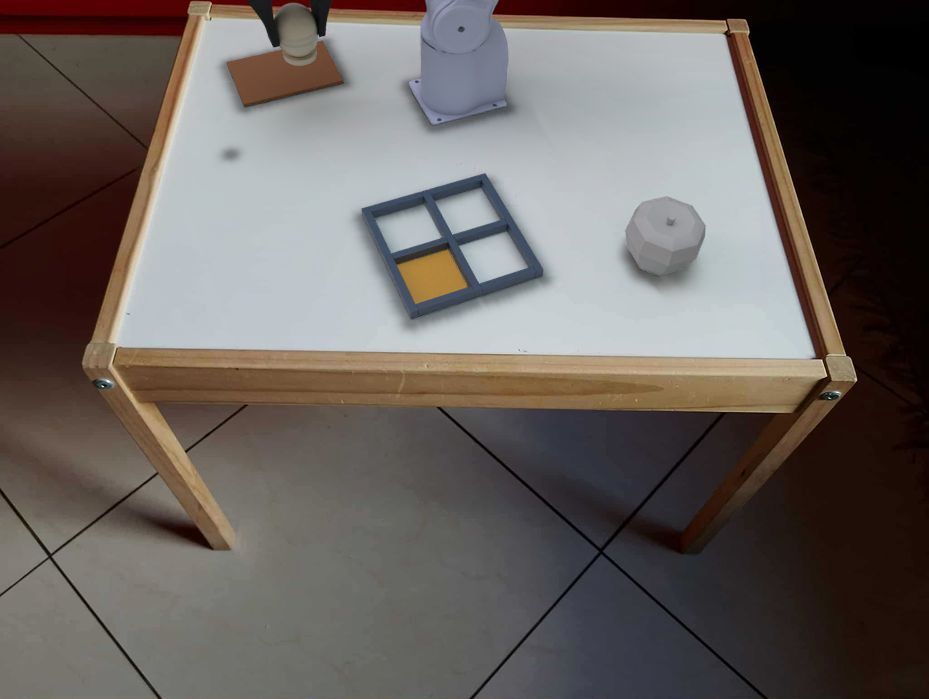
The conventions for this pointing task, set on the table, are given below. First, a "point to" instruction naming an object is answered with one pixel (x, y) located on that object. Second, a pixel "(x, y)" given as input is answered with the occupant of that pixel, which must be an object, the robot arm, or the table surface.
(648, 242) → the apple
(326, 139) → the table surface
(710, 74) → the table surface
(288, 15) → the beige domed knob
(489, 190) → the holder
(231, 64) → the mat
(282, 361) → the table surface
